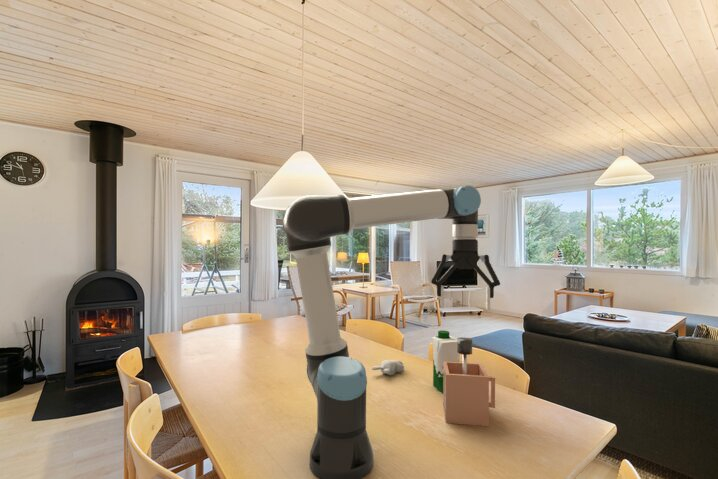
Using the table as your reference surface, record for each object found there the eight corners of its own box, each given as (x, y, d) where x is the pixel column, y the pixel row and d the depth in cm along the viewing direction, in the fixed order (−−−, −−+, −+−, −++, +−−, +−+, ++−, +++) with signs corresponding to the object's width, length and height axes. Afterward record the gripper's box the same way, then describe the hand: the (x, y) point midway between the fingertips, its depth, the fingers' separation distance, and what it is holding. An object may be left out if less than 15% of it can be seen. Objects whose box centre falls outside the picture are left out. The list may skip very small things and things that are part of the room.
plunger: (481, 418, 105) (482, 344, 105) (450, 416, 107) (451, 342, 107) (477, 405, 114) (477, 336, 114) (448, 403, 115) (448, 335, 115)
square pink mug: (498, 427, 103) (499, 378, 103) (445, 422, 105) (446, 374, 105) (490, 408, 115) (490, 364, 115) (443, 404, 117) (443, 361, 117)
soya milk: (450, 382, 135) (451, 329, 135) (464, 392, 126) (464, 335, 127) (429, 385, 133) (429, 330, 133) (441, 395, 124) (441, 337, 124)
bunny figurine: (409, 361, 148) (390, 366, 136) (408, 373, 147) (389, 380, 136) (390, 356, 154) (369, 361, 142) (389, 368, 153) (368, 374, 141)
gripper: (504, 239, 112) (504, 307, 112) (423, 238, 116) (423, 304, 116) (510, 238, 105) (510, 311, 105) (423, 238, 109) (423, 308, 109)
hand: (464, 308), depth 110 cm, fingers open, 13 cm apart
